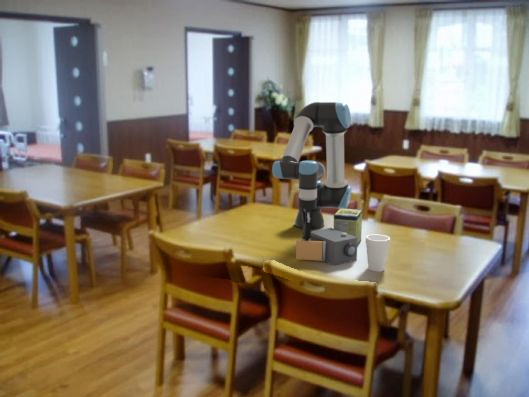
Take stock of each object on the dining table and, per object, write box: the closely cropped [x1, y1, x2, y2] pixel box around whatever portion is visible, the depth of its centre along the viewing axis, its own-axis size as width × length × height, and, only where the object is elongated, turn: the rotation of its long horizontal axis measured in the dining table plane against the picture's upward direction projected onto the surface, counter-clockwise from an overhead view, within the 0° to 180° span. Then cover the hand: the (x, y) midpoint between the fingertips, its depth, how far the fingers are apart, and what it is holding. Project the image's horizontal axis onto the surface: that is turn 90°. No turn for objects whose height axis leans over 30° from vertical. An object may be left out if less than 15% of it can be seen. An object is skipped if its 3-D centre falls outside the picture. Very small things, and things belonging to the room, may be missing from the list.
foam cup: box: [365, 233, 391, 272], centre depth 215 cm, size 10×9×13 cm
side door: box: [295, 239, 326, 262], centre depth 224 cm, size 1×12×8 cm, turn 80°
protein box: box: [333, 207, 363, 248], centre depth 246 cm, size 10×16×16 cm
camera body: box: [310, 227, 358, 266], centre depth 229 cm, size 12×20×11 cm, turn 32°
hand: (306, 253), depth 228 cm, fingers closed
